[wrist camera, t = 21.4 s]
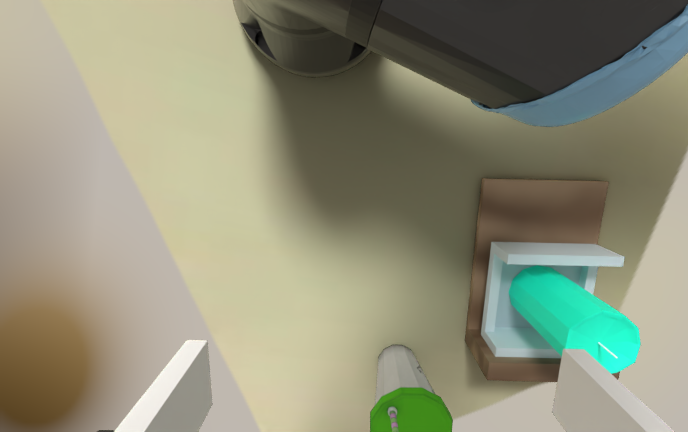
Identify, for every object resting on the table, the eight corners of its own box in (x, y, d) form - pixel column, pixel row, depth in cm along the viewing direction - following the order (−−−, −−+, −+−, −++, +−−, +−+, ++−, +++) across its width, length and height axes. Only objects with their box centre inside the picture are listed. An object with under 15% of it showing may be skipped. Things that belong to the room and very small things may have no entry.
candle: (574, 279, 38) (673, 342, 27) (543, 324, 40) (625, 402, 28) (527, 255, 38) (607, 309, 26) (498, 301, 39) (561, 372, 27)
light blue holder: (488, 239, 38) (508, 254, 34) (590, 241, 38) (624, 256, 33) (478, 330, 41) (495, 356, 36) (574, 333, 41) (603, 359, 36)
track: (482, 178, 38) (510, 187, 31) (603, 180, 38) (659, 190, 31) (464, 340, 42) (487, 380, 36) (573, 343, 42) (617, 383, 35)
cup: (433, 382, 44) (476, 506, 29) (371, 393, 44) (382, 521, 30) (423, 326, 42) (462, 428, 27) (358, 338, 42) (364, 445, 28)
